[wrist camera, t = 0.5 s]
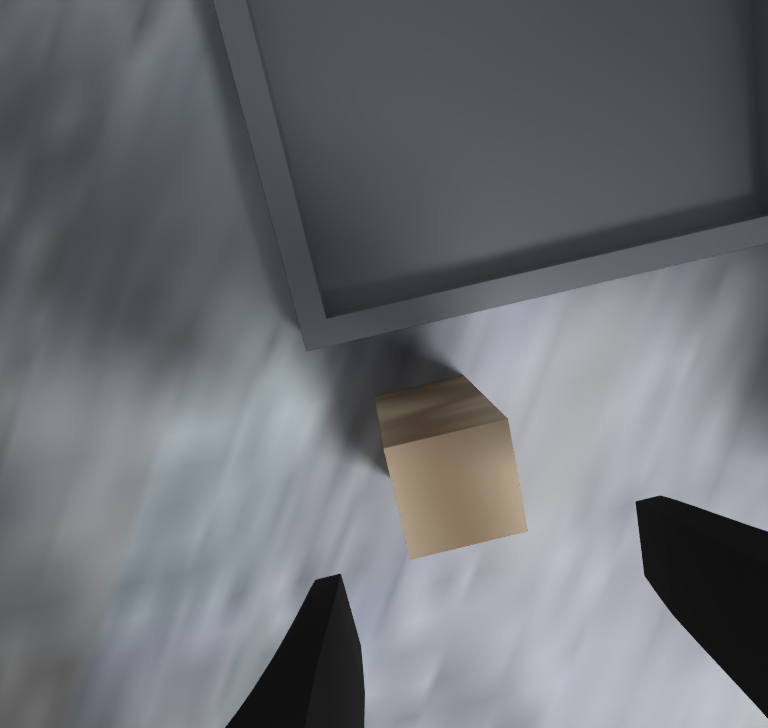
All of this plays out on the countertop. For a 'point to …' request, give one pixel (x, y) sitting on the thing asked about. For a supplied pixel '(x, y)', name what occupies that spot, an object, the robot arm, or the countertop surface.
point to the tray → (496, 146)
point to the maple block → (450, 466)
